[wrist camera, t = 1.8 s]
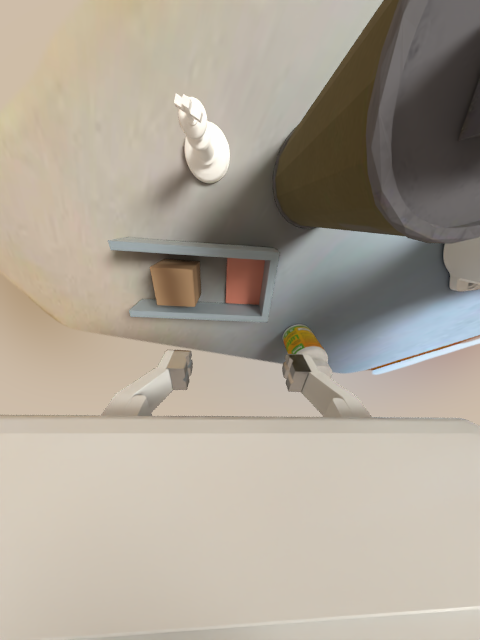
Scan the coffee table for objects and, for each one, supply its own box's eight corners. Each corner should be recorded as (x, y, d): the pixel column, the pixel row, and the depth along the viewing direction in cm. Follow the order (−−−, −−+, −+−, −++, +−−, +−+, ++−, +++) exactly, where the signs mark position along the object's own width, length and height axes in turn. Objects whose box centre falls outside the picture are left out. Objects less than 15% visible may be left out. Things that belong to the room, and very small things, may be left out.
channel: (273, 247, 24) (280, 252, 20) (263, 310, 29) (267, 322, 26) (127, 237, 23) (107, 240, 19) (143, 304, 28) (130, 316, 24)
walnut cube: (199, 261, 25) (192, 269, 20) (201, 293, 27) (195, 306, 23) (164, 258, 24) (149, 267, 20) (169, 291, 27) (157, 305, 23)
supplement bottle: (289, 320, 30) (310, 358, 22) (315, 326, 31) (345, 366, 23) (277, 343, 33) (292, 385, 25) (302, 348, 34) (324, 391, 25)
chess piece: (219, 192, 21) (209, 172, 12) (179, 168, 19) (136, 127, 11) (237, 141, 18) (240, 71, 10) (193, 110, 17) (151, 0, 8)
